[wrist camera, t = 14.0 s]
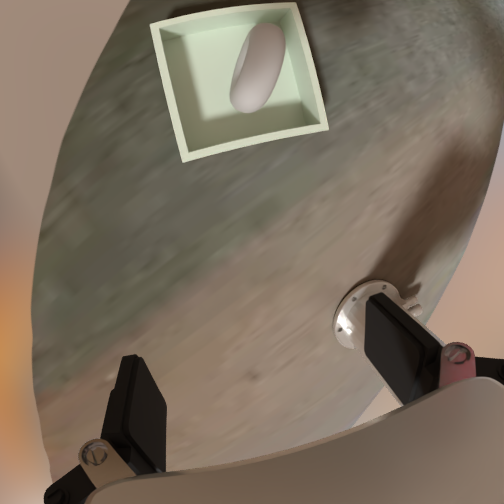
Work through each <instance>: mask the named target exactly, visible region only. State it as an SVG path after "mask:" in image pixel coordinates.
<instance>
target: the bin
mask: <svg viewBox="0 0 504 504" xmlns="http://www.w3.org/2000/svg"><path fill="white" fill-rule="evenodd" d="M260 23H270V24H273V25H275V26H277V27H279V28H280V29H281V30H282V31H283V33H284V36H285V41H286V49H285V56H284V61H283V65H282V68H281V71H280V75H279V77H278V80H277V83H276V85H275V87H274V89H273V92H272V94H271V96H270V97H269V99H268V100H267V102H266V103H265V104H264V105H263V107H261V108H260V109H259V110H257V111H256V112H253V113H243V112H240V111H238V110H236V109H235V108H234V107H233V106H232V104H231V102H230V96H229V94H230V86H231V81H232V77H233V73H234V69H235V65H236V62H237V59H238V56H239V53H240V51H241V48H242V45H243V43H244V41H245V39H246V37H247V35H248V33H249V31H250V30H251V29H252V28H253V27H254V26H256V25H258V24H260ZM150 27H151V32H152V37H153V42H154V46H155V51H156V56H157V60H158V65H159V69H160V74H161V78H162V82H163V87H164V91H165V95H166V99H167V103H168V107H169V112H170V116H171V120H172V124H173V128H174V132H175V135H176V139H177V143H178V147H179V151H180V155H181V158H182V162H183V163H184V162H187V161H191V160H194V159H198V158H201V157H205V156H209V155H212V154H216V153H220V152H224V151H228V150H232V149H236V148H240V147H245V146H249V145H253V144H258V143H262V142H267V141H272V140H276V139H281V138H286V137H291V136H297V135H302V134H308V133H313V132H319V131H325V130H329V128H328V123H327V118H326V113H325V108H324V104H323V99H322V95H321V90H320V86H319V82H318V78H317V74H316V70H315V66H314V62H313V58H312V54H311V51H310V47H309V44H308V40H307V37H306V33H305V30H304V26H303V23H302V20H301V17H300V13H299V10H298V7H297V4H296V2H288V3H268V4H255V5H245V6H236V7H229V8H222V9H216V10H210V11H204V12H199V13H194V14H189V15H184V16H180V17H176V18H172V19H168V20H164V21H160V22H156V23H153V24H150Z"/></svg>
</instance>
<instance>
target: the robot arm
mask: <svg viewBox="0 0 504 504" xmlns="http://www.w3.org/2000/svg"><path fill="white" fill-rule="evenodd" d="M415 303H417V297H416V296H412V297H409V298H408V299H406V300H404V299H402V298H400V295H399V292H398V290H397V289H396V288H395V287H394V286H393V285H392V284H390V283H389V282H387V281H384V280H372V281H368V282H366V283H363V284H361V285H359V286H358V287H356V288H355V289H354V290H352V291H351V292H350V293H349V294H348V295H347V296H346V297H345V298H344V300H343V301H342V302H341V304H340V305H339V307H338V309H337V311H336V314H335V317H334V321H333V331H334V334H335V336H336V338H337V340H338V341H339V342H340V343H341V344H342V345H343V346H345V347H347V348H350V349H357V350H358V351H359V352H360V354H361V355H362V356H363V358H364V359H365V360H366V361H367V363H368V364H369V365H370V367H371V368H372V369H373V371H374V372H375V373H376V374H377V376H378V377H379V378H380V380H381V381H382V382H383V384H384V385H385V386H386V388H387V389H388V390H389V391H390V393H391V394H392V396H393V397H394V398H395V399H396V401H397V402H398V403H399V404H400V405H401V406H402V407H400V408H397V409H396V410H393V411H391V412H389V413H387V414H384V415H382V416H380V417H378V418H375V419H373V420H371V421H368V422H366V423H363V424H361V425H359V426H356V427H353V428H351V429H348V430H345V431H343V432H340V433H337V434H335V435H332V436H329V437H326V438H323V439H320V440H317V441H314V442H311V443H308V444H305V445H301V446H298V447H294V448H291V449H287V450H284V451H280V452H276V453H272V454H268V455H264V456H260V457H256V458H251V459H247V460H242V461H237V462H232V463H227V464H221V465H215V466H209V467H202V468H195V469H188V470H180V471H171V472H166V418H167V406H166V402H165V400H164V398H163V396H162V394H161V392H160V391H159V389H158V387H157V385H156V383H155V381H154V379H153V377H152V375H151V373H150V371H149V369H148V368H147V366H146V364H145V361H144V360H143V358H142V357H138V356H137V355H136V354H135V355H128V356H123V357H122V360H121V364H120V368H119V372H118V376H117V380H116V384H115V388H114V389H113V390H112V391H111V393H110V397H109V401H108V405H107V410H106V414H105V418H104V423H103V428H102V433H101V437H100V439H92V440H89V441H87V442H86V443H85V444H84V445H82V447H81V448H80V450H79V453H78V460H79V463H80V464H79V465H78V466H76V467H75V468H74V469H72V470H71V471H70V472H68V473H67V474H66V475H64V476H63V477H62V478H60V479H59V480H58V481H56V482H55V483H53V484H52V485H51V486H50V487H49V488H48V489H47V490H46V492H45V494H44V504H504V359H495V358H494V359H493V358H483V357H475V355H474V351H473V350H472V348H471V347H469V346H468V345H467V344H464V343H460V342H452V343H450V344H447V345H446V344H445V343H444V342H443V341H442V340H440V339H439V338H438V337H437V336H436V335H435V334H434V333H433V332H431V331H430V330H429V329H428V328H427V327H426V326H425V325H424V324H422V323H421V322H420V321H419V320H418V319H417V318H416V316H418V315H420V314H422V312H423V310H422V307H421V305H420V304H416V305H414V306H412V307H410V308H409V309H407V308H408V306H411V305H413V304H415Z"/></svg>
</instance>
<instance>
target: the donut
mask: <svg viewBox="0 0 504 504" xmlns="http://www.w3.org/2000/svg"><path fill="white" fill-rule="evenodd" d="M285 49H286V41H285V36H284V33H283V31H282V30H281V29H280V28H279V27H277V26H275V25H273V24H270V23H260V24H258V25H256V26H254V27H253V28H252V29H251V30H250V31H249V33H248V35H247V37H246V39H245V41H244V43H243V45H242V48H241V51H240V53H239V56H238V59H237V62H236V65H235V69H234V73H233V77H232V81H231V86H230V94H229V96H230V102H231V104H232V106H233V107H234V108H235V109H236V110H238V111H240V112H243V113H253V112H256V111H257V110H259V109H260V108H261V107H263V105H264V104H265V103H266V102H267V100H268V99H269V97H270V96H271V94H272V92H273V89H274V87H275V85H276V83H277V80H278V77H279V75H280V71H281V68H282V65H283V61H284V56H285Z"/></svg>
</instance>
